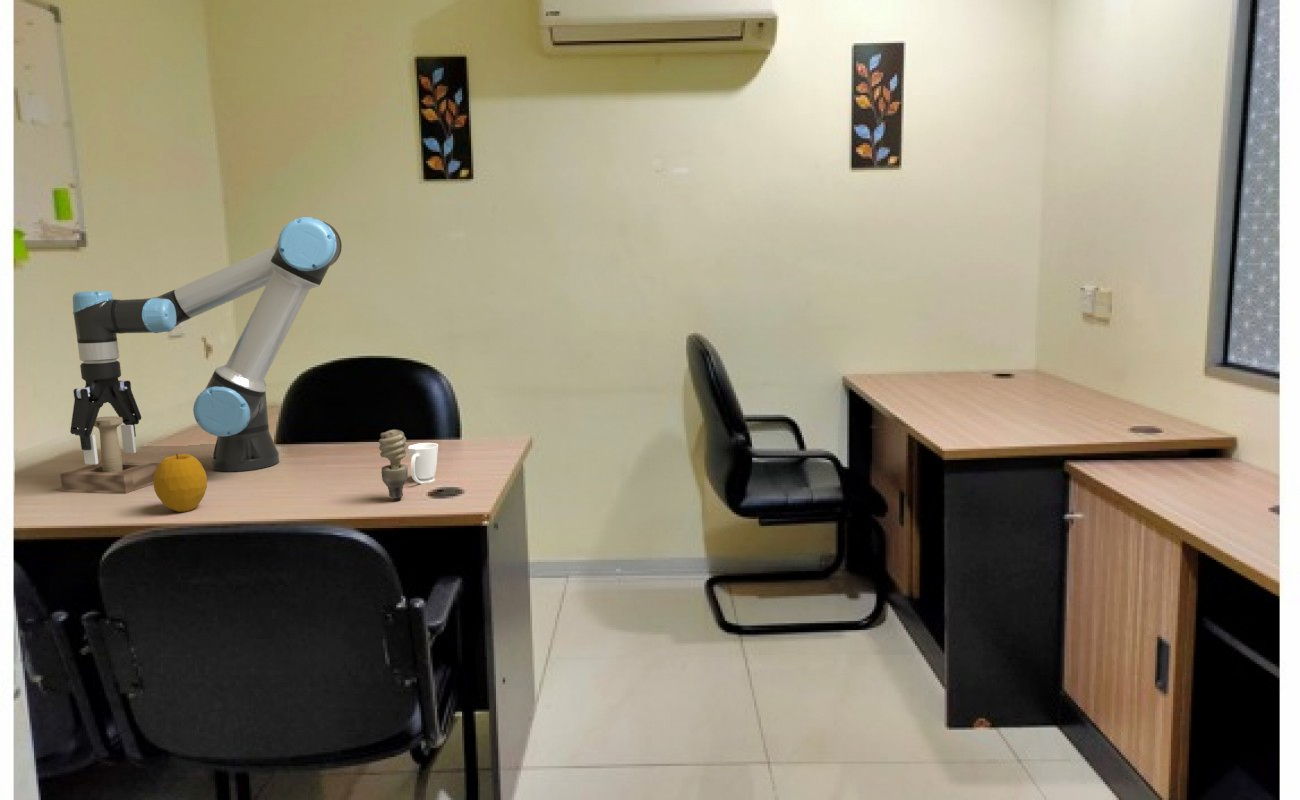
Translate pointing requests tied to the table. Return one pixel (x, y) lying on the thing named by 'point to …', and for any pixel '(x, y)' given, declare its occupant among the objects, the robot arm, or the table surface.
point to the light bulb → (394, 462)
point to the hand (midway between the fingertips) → (111, 458)
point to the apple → (180, 482)
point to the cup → (423, 461)
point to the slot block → (109, 478)
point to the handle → (110, 443)
